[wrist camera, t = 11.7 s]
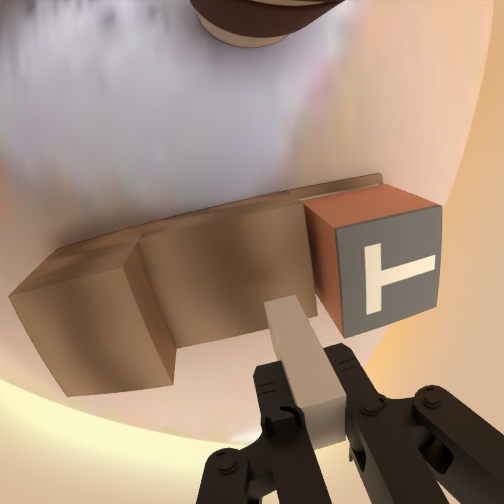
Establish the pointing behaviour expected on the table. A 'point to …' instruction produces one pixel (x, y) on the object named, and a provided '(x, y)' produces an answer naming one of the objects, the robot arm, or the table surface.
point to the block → (374, 255)
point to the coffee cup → (258, 18)
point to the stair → (168, 289)
